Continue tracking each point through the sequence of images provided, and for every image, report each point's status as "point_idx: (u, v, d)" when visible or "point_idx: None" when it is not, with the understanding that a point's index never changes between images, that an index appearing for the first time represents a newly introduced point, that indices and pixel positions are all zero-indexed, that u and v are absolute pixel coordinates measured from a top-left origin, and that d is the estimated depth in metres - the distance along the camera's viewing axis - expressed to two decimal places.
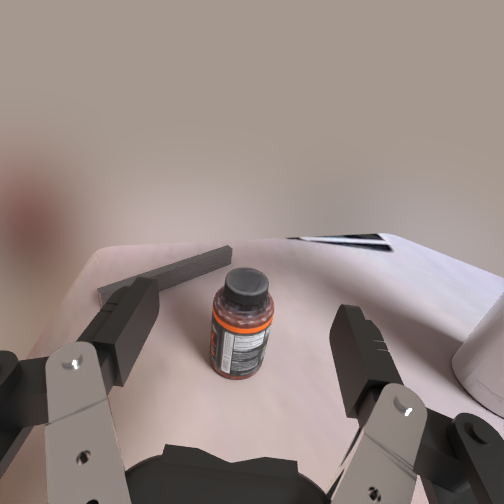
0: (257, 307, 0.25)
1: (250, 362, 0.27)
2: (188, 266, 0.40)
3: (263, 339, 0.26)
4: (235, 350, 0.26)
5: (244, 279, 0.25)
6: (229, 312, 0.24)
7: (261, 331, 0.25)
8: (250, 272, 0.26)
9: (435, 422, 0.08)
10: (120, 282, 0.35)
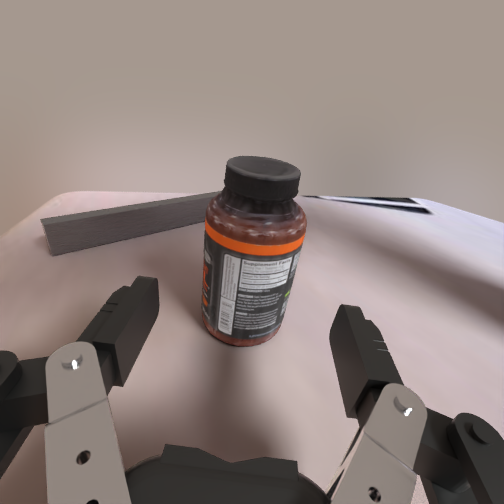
0: (281, 210, 0.14)
1: (266, 315, 0.17)
2: (177, 206, 0.30)
3: (288, 274, 0.16)
4: (241, 290, 0.15)
5: (259, 164, 0.15)
6: (233, 215, 0.14)
7: (287, 255, 0.15)
8: (268, 160, 0.16)
9: (435, 422, 0.08)
10: (77, 214, 0.24)
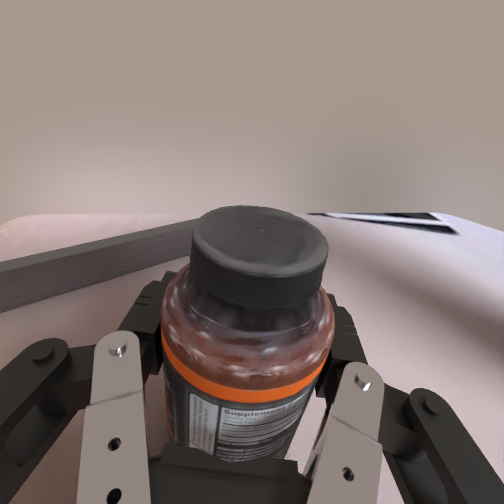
0: (293, 319, 0.08)
1: None
2: (151, 241, 0.23)
3: (303, 406, 0.09)
4: (223, 442, 0.09)
5: (253, 228, 0.08)
6: (203, 332, 0.07)
7: (303, 390, 0.08)
8: (269, 215, 0.09)
9: (393, 397, 0.08)
10: (7, 262, 0.18)
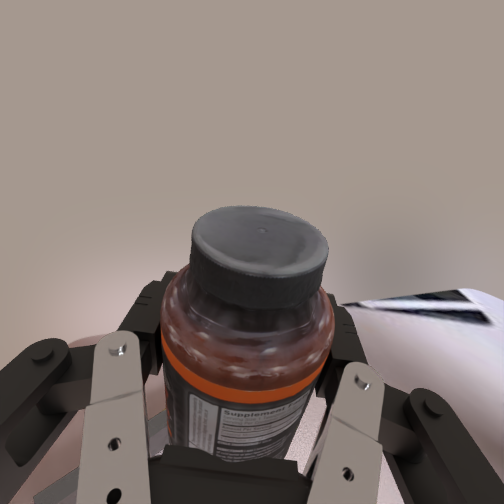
0: (293, 319, 0.08)
1: None
2: None
3: (303, 406, 0.09)
4: (223, 443, 0.09)
5: (252, 228, 0.08)
6: (203, 333, 0.07)
7: (303, 391, 0.08)
8: (269, 215, 0.09)
9: (393, 398, 0.08)
10: None
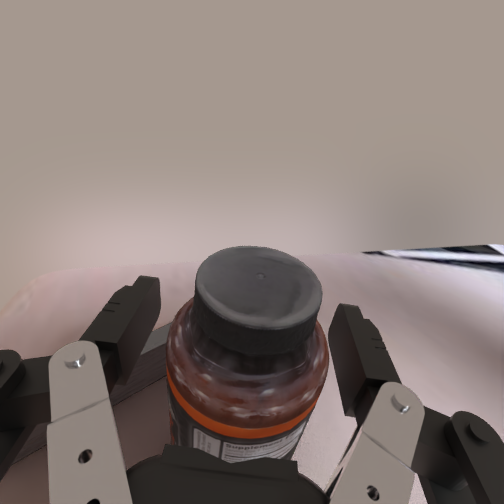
0: (289, 361, 0.08)
1: None
2: None
3: (300, 434, 0.10)
4: None
5: (252, 275, 0.09)
6: (206, 374, 0.08)
7: (299, 423, 0.09)
8: (267, 257, 0.10)
9: (433, 420, 0.08)
10: None
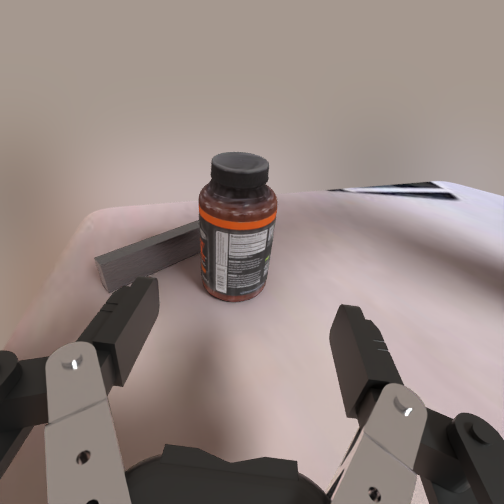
0: (255, 194, 0.19)
1: (252, 275, 0.22)
2: None
3: (266, 242, 0.21)
4: (231, 257, 0.20)
5: (236, 159, 0.19)
6: (219, 201, 0.19)
7: (263, 228, 0.20)
8: (244, 155, 0.20)
9: (435, 422, 0.08)
10: (128, 247, 0.24)
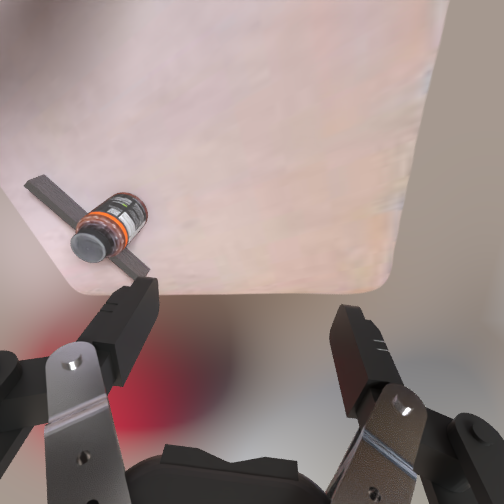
0: (107, 234, 0.32)
1: (137, 211, 0.38)
2: None
3: (122, 213, 0.35)
4: (135, 229, 0.37)
5: (87, 250, 0.32)
6: (116, 250, 0.34)
7: (120, 221, 0.34)
8: (77, 246, 0.31)
9: (435, 422, 0.08)
10: (126, 271, 0.43)
